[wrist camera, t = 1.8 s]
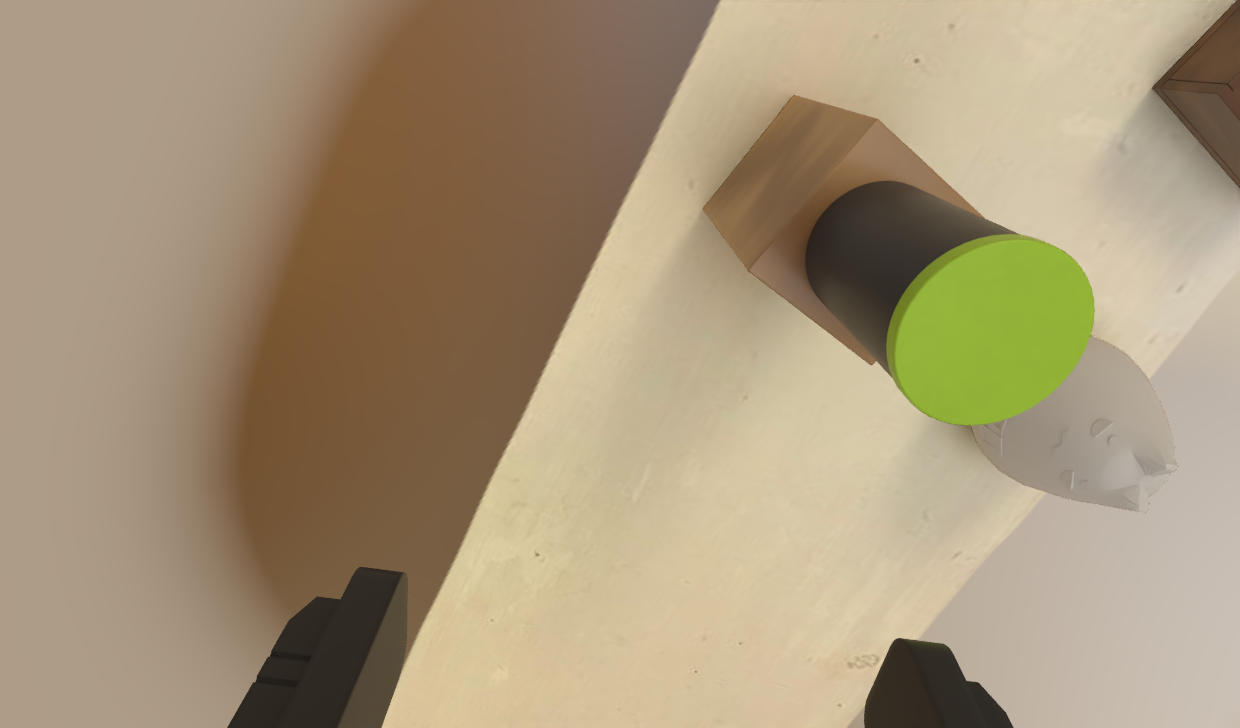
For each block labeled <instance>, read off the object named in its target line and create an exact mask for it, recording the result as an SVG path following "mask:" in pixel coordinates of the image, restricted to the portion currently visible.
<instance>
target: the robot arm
mask: <svg viewBox="0 0 1240 728" xmlns="http://www.w3.org/2000/svg"><path fill="white" fill-rule="evenodd" d="M407 599H408V577H407V574H406V573H404V572H396V571H388V570H380V569H373V568H364V567H359V568H358V569H357V570H356V571H355V573H354V574H353V576H352V578H351V580H350V582H349V584H348V586H347V588H346V590H345V592H344V594H343V596H342V598H341V600H340V599H332V598H324V597H316V598H315V599H314V600H313V601H311V602H310V603H309V604H308V605H307V606H306V607H304V608H303V609H302V610H301V611H300V612H299V613H297V614H296V615H295V616H294V617H293V618H291V619H290V620H289V622H288V623H287V625H286V627H285V629H284V630H283V632H282V633H281V635H280V637H279V639H278V640H277V642H276V644H275V646H274V647H273V649H272V651H271V655H270V657H268V658H267V659H266V661H265V663H264V665H263V666H262V668H261V670H260V672H259V674H258V675H257V680H256V682H255V683H253V684H252V686H251V687H250V689H249V691H248V693H247V694H246V696H245V698H244V700H243V701H242V703H241V705H240V706H239V708H238V710H237V712H236V713H235V715H234V717H233V719H232V720H231V722H230V724H229V726H228V728H381V727H382V724H383V722H384V719H385V716H386V713H387V711H388V708H389V705H390V702H391V699H392V697H393V694H394V691H395V688H396V686H397V683H398V680H399V677H400V673H401V670H402V666H403V662H404V656H405V651H406V643H407V602H408V600H407ZM864 724H865V728H1013V726H1012V724H1011V722H1010V720H1009V718H1008V716H1007V714H1006V712H1005V711H1004V710H1003V709H1002V708H1001V707H1000V706H999V705H998V704H997V703H996V701H995V700H994V699H993V698H992V697H991V696H990V695H989V694H988V693H987V691H986V690H985V689H984V688H983V687H982V686H981V685H980V684H979V683H977V682H970V681H966V679H965V677H964V675H963V673H962V671H961V669H960V667H959V665H958V663H957V661H956V659H955V657H954V655H953V653H952V651H951V650H950V648H949V647H947V646H946V645H945V644H940V643H932V642H925V641H917V640H909V639H902V638H898V639H896V640H894V641H893V643H892V644H891V646H890V648H889V651H888V653H887V655H886V657H885V659H884V662H883V664H882V666H881V668H880V671H879V673H878V675H877V677H876V680H875V682H874V684H873V686H872V688H871V691H870V693H869V695H868V698H867V701H866V705H865V713H864Z"/></svg>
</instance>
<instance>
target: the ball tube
mask: <svg viewBox="0 0 1240 728" xmlns="http://www.w3.org/2000/svg"><path fill="white" fill-rule="evenodd" d="M805 263H806V272H807V276H808V280H809V283H810V285H811V287H812V289H813V291H814V293H815V294H816V296H817V297H818V298H819V299H820V300H821V302H822V303H823V304H824V305H825V306H826V307H827V308H828V309H829V310H830V311H831V312H832V313H833V315H834V316H835V317H836V318H837V319H838V320H839V321H840V322H841V323H842V324H843V325H844V326H845V327H846V329H847V330H848V331H849V332H850V333H851V334H852V335H853V336H854V337H855V338H856V339H857V340H858V341H859V343H860V344H861V345H862V346H863V347H864V348H865V349H866V350H867V351H868V352H869V353H870V354H871V356H872V357H873V358H874V359H875V360H876V361H877V362H878V363H879V364H880V365H881V366H882V367H883V368H884V370H885V371H886V372H887V373H888V374H889V375H890V376H891V377H892V378H893V380H894V382H895V383H896V385H897V387H898V388H899V389H900V391H901V392H902V393H903V394H904V396H905V397H906V398H907V399H908V400H909V401H910V402H911V403H912V404H913V405H914V406H915V407H916V408H917V409H918V410H920V411H921V412H923V413H924V414H926V415H928V416H930V417H932V418H934V419H936V420H939V421H942V422H946V423H949V424H956V425H970V426H974V425H985V424H990V423H995V422H999V421H1002V420H1005V419H1008V418H1011V417H1013V416H1016V415H1018V414H1020V413H1023V412H1024V411H1026V410H1028V409H1030V408H1032V407H1033V406H1035V405H1036V404H1038V403H1039V402H1041V401H1042V400H1044V399H1045V398H1046V397H1048V396H1049V395H1050V394H1051V393H1052V392H1054V391H1055V390H1056V389H1057V388H1058V387H1059V386H1060V385H1061V384H1062V383H1063V382H1064V381H1065V379H1066V378H1067V377H1068V376H1069V375H1070V373H1071V372H1072V371H1073V369H1074V368H1075V366H1076V365H1077V363H1078V362H1079V360H1080V359H1081V357H1082V355H1083V353H1084V351H1085V349H1086V346H1087V344H1088V341H1089V338H1090V335H1091V331H1092V327H1093V321H1094V298H1093V294H1092V289H1091V286H1090V284H1089V281H1088V278H1087V276H1086V275H1085V273H1084V271H1083V270H1082V268H1081V267H1080V266H1079V265H1078V263H1077V262H1076V261H1075V260H1074V259H1073V258H1072V257H1071V256H1069V255H1068V254H1067V253H1066V252H1064V251H1062V250H1061V249H1059V248H1057V247H1055V246H1053V245H1051V244H1049V243H1046V242H1044V241H1041V240H1039V239H1036V238H1033V237H1029V236H1023V235H1020V234H1018V233H1016V232H1013V231H1011V230H1009V229H1007V228H1005V227H1002V226H1000V225H998V224H996V223H993V222H991V221H989V220H987V219H985V218H982V217H980V216H978V215H976V214H974V213H971V212H969V211H967V210H965V209H962V208H960V207H958V206H956V205H954V204H951V203H949V202H947V201H945V200H943V199H940V198H938V197H936V196H934V195H931V194H929V193H927V192H925V191H923V190H920V189H918V188H916V187H914V186H911V185H908V184H906V183H902V182H897V181H877V182H872V183H868V184H865V185H862V186H859V187H856V188H854V189H852V190H850V191H848V192H847V193H845V194H844V195H842V196H841V197H839V198H838V199H837V200H836V201H835V202H833V203H832V204H831V205H830V206H829V207H828V208H827V209H826V210H825V212H824V213H823V214H822V216H821V217H820V218H819V220H818V221H817V223H816V225H815V226H814V228H813V231H812V233H811V235H810V238H809V241H808V245H807V250H806V262H805Z"/></svg>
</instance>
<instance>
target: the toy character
mask: <svg viewBox="0 0 1240 728" xmlns="http://www.w3.org/2000/svg"><path fill="white" fill-rule="evenodd" d="M971 427H972V431H973V434H974V437H975V439H976V442H977V444H978V446H979V447H980V449H981V451H982V453H983V454H984V455H985V456H986V457H987V458H988V459H989V461H990V462H991V463H992V464H993V465H994V466H995V467H996V468H997V469H998V470H999V471H1001V472H1002V473H1004V474H1006V475H1007V476H1009V477H1011V478H1013V479H1014V480H1016V481H1018V482H1019V483H1021V484H1023V485H1026V486H1029V487H1032V488H1035V489H1038V490H1041V491H1044V492H1047V493H1050V494H1053V495H1056V496H1060V497H1062V498H1066V499H1071V500H1076V501H1080V502H1087V503H1093V504H1099V505H1104V506H1109V507H1115V508H1120V509H1125V510H1130V511H1136V512H1142V513H1147V512H1148V508H1149V504H1150V503H1149V499H1148V497H1150V496H1152V495H1153V494H1155V493H1156V492H1157V491H1159V490H1160V489H1161V488H1162V487H1163V486H1164V484H1165V483H1166V482H1167V481H1168V479H1169V477H1170V475H1171V473H1172V472H1174V471H1176V470H1177V468H1178V467H1179V466H1178V464H1177V462H1176V459H1175V457H1174V449H1175V447H1174V439H1173V436H1172V432H1171V428H1170V425H1169V422H1168V419H1167V417H1166V414H1165V411H1164V409H1163V407H1162V404H1161V402H1160V400H1159V398H1158V396H1157V395H1156V393H1155V391H1154V389H1153V387H1152V385H1151V383H1150V381H1149V379H1148V378H1147V376H1146V375H1145V373H1144V372H1143V371H1142V370H1141V368H1140V367H1139V366H1138V365H1137V364H1136V363H1135V362H1134V361H1133V360H1132V359H1131V358H1130V357H1129V356H1128V355H1127V354H1126V353H1124V352H1123V351H1121V350H1120V349H1119V348H1117V347H1115V346H1113V345H1111V344H1109V343H1107V342H1105V341H1103V340H1100V339H1098V338H1095V337H1092V336H1090V338H1089V341H1088V344H1087V346H1086V349H1085V351H1084V353H1083V355H1082V357H1081V359H1080V360H1079V362H1078V363H1077V365H1076V366H1075V368H1074V369H1073V371H1072V372H1071V373H1070V375H1069V376H1068V377H1067V378H1066V379H1065V381H1064V382H1063V383H1062V384H1061V385H1060V386H1059V387H1058V388H1057V389H1056V390H1055V391H1054V392H1052V393H1051V394H1050V395H1049V396H1048V397H1046V398H1045V399H1044V400H1042V401H1041V402H1039V403H1038V404H1036V405H1035V406H1033V407H1032V408H1030V409H1028V410H1026V411H1024V412H1023V413H1020V414H1018V415H1016V416H1013V417H1011V418H1008V419H1005V420H1002V421H999V422H995V423H990V424H985V425H974V426H971Z"/></svg>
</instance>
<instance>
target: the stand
mask: <svg viewBox="0 0 1240 728" xmlns="http://www.w3.org/2000/svg"><path fill="white" fill-rule="evenodd" d="M877 181H897V182H902V183H906V184H908V185H911V186H914V187H916V188H918V189H920V190H923V191H925V192H927V193H929V194H931V195H934V196H936V197H938V198H940V199H943V200H945V201H947V202H949V203H951V204H954V205H956V206H958V207H960V208H962V209H965V210H967V211H969V212H971V213H974V214H976V215H978V216H980V217H982V218H984V217H983V216H982V215H981V214H980V213H979V212H978V211H977V210H975V209H974V208H973V207H972V206H971V205H970V204H969V203H968V202H967V201H966V200H965V199H964V198H963V197H961V196H960V195H959V194H958V193H957V192H956V191H955V190H954V189H953V188H952V187H951V186H950V185H949V184H947V183H946V182H945V181H944V180H943V179H942V178H941V177H940V176H939V175H938V174H937V173H936V172H935V171H933V170H932V169H931V168H930V167H929V166H928V165H927V164H926V163H925V162H924V161H923V160H922V159H921V158H919V157H918V156H917V155H916V154H915V153H914V152H913V151H912V150H911V149H910V148H909V147H908V146H907V145H905V144H904V143H903V142H902V141H901V140H900V139H899V138H898V137H897V136H896V135H895V134H894V133H893V132H891V131H890V130H889V129H888V128H887V127H886V126H885V125H884V124H883V123H882V122H881V121H880V120H879V119H876V118H873V117H869V116H866V115H862V114H859V113H855V112H852V111H848V110H844V109H841V108H837V107H834V106H830V105H827V104H823V103H820V102H816V101H813V100H809V99H806V98H802V97H799V96H795V95H794V96H793V97H792V98H791V99H790V101H789V102H788V103H787V104H786V106H785V107H784V108H783V109H782V111H781V112H780V113H779V114H778V116H777V117H776V118H775V119H774V121H773V122H772V123H771V124H770V126H769V127H768V128H767V129H766V131H765V132H764V133H763V134H762V136H761V137H760V138H759V139H758V141H757V142H756V143H755V144H754V146H753V147H752V148H751V149H750V151H749V152H748V153H747V154H746V156H745V157H744V158H743V159H742V161H741V162H740V163H739V164H738V166H737V167H736V168H735V169H734V171H733V172H732V173H731V174H730V176H729V177H728V178H727V179H726V181H725V182H724V183H723V184H722V186H721V187H720V188H719V189H718V191H717V192H716V193H715V194H714V196H713V197H712V198H711V199H710V201H709V202H708V203H707V204H706V206H705V207H704V208H703V210H704V212H705V213H706V214H707V216H708V217H709V218H710V220H711V221H712V222H713V224H714V225H715V226H716V228H717V229H718V231H719V232H720V233H721V235H722V236H723V237H724V239H725V240H726V241H727V243H728V244H729V245H730V247H731V248H732V249H733V251H734V252H735V254H736V255H737V256H738V258H739V259H740V260H741V262H742V263H743V264H744V266H745V267H746V268H747V270H748V271H749V272H750V273H752V274H753V275H754V276H756V277H757V278H758V279H760V280H761V281H762V282H763V283H765V284H766V285H767V286H769V287H770V288H771V289H772V290H774V291H775V292H776V293H778V294H779V295H780V296H782V297H783V298H784V299H785V300H787V301H788V302H789V303H791V304H792V305H793V306H795V307H796V308H797V309H798V310H800V311H801V312H802V313H804V314H805V315H806V316H807V317H809V318H810V319H811V320H813V321H814V322H815V323H817V324H818V325H819V326H820V327H822V328H823V329H824V330H826V331H827V332H828V333H830V334H831V335H832V336H833V337H835V338H836V339H837V340H839V341H840V342H841V343H842V344H844V345H845V346H846V347H848V348H849V349H850V350H852V351H853V352H854V353H855V354H857V355H858V356H859V357H861V358H862V359H863V360H865V361H866V362H867V363H868V364H870V365H873V364H874V363H875V362H876V360H875V359H874V358H873V357H872V356H871V354H870V353H869V352H868V351H867V350H866V349H865V348H864V347H863V346H862V345H861V344H860V343H859V341H858V340H857V339H856V338H855V337H854V336H853V335H852V334H851V333H850V332H849V331H848V330H847V329H846V327H845V326H844V325H843V324H842V323H841V322H840V321H839V320H838V319H837V318H836V317H835V316H834V315H833V313H832V312H831V311H830V310H829V309H828V308H827V307H826V306H825V305H824V304H823V303H822V302H821V300H820V299H819V298H818V297H817V296H816V294H815V293H814V291H813V289H812V287H811V285H810V283H809V280H808V276H807V272H806V263H805V262H806V250H807V245H808V241H809V238H810V235H811V233H812V231H813V228H814V226H815V225H816V223H817V221H818V220H819V218H820V217H821V216H822V214H823V213H824V212H825V210H826V209H827V208H828V207H829V206H830V205H831V204H832V203H833V202H835V201H836V200H837V199H838V198H839V197H841V196H842V195H844V194H845V193H847V192H848V191H850V190H852V189H854V188H856V187H859V186H862V185H865V184H868V183H872V182H877Z"/></svg>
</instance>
